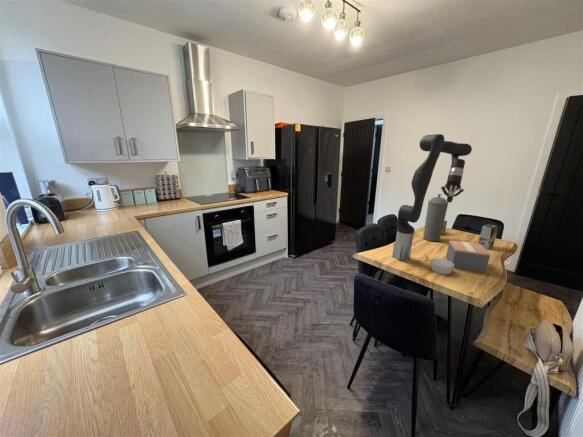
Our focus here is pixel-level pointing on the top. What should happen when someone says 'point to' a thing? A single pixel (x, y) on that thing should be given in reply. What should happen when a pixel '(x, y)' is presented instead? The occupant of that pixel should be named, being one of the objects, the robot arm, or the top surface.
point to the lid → (469, 248)
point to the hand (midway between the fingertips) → (449, 202)
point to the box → (467, 260)
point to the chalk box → (444, 228)
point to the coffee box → (488, 236)
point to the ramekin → (441, 266)
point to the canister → (435, 218)
